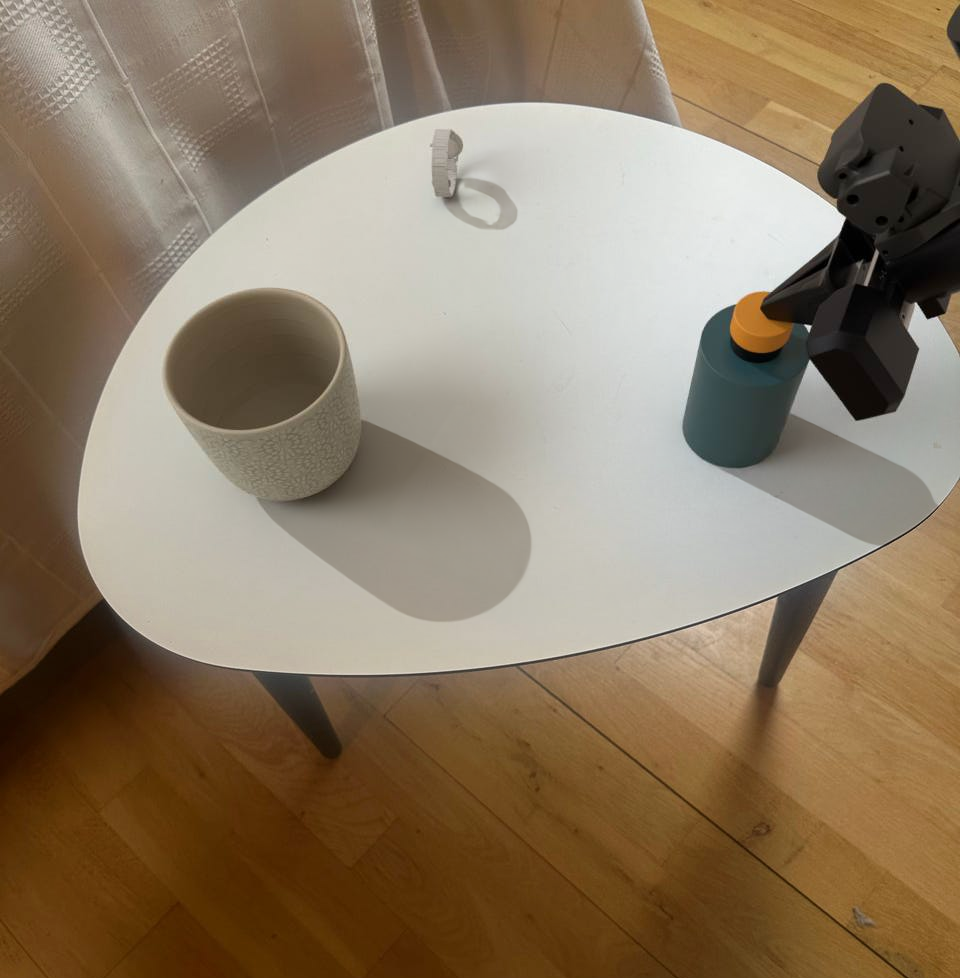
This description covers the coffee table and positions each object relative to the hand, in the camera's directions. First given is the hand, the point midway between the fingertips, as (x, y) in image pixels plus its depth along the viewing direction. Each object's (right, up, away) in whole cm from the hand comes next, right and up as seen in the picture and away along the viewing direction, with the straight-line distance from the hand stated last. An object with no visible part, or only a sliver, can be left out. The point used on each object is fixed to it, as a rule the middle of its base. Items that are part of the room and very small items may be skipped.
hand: (764, 309), depth 56 cm
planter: (-32, -7, +13) cm, 35 cm away
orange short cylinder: (0, -1, +2) cm, 2 cm away
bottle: (+1, -5, +11) cm, 12 cm away
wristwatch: (-21, +19, +24) cm, 37 cm away
